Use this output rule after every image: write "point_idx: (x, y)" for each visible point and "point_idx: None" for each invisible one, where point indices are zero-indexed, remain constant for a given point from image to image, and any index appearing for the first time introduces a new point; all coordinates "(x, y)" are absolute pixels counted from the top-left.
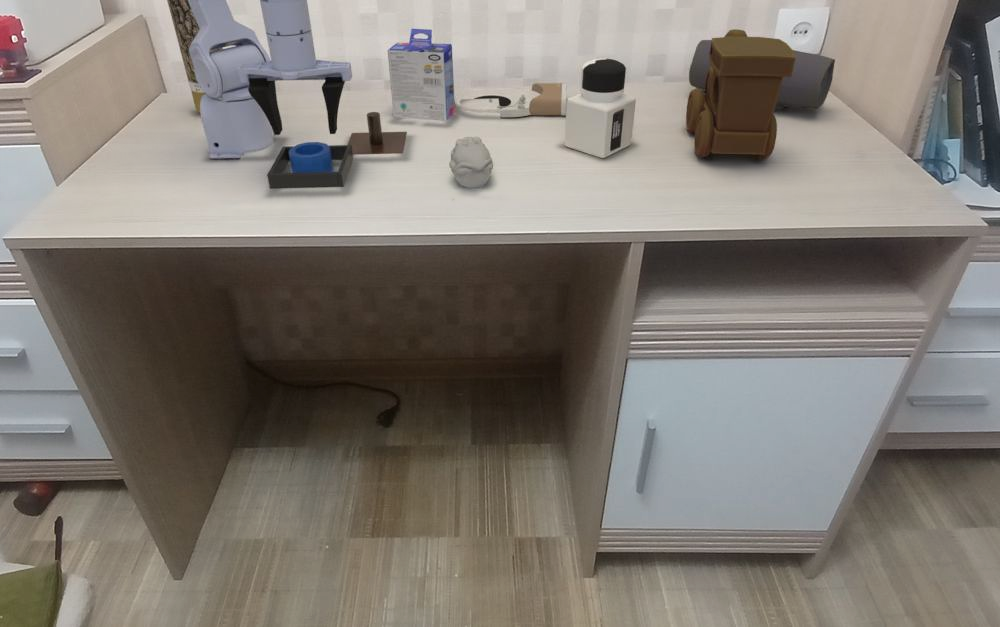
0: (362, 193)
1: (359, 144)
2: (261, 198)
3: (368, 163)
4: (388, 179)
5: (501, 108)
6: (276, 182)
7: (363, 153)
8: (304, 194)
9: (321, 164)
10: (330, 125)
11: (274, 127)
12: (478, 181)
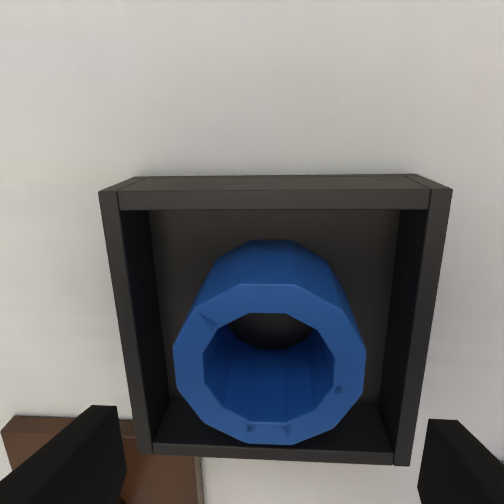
0: (68, 172)
1: (159, 501)
2: (454, 145)
3: (115, 398)
4: (13, 280)
5: None
6: (401, 182)
7: (127, 440)
8: (285, 174)
9: (209, 284)
10: (69, 439)
11: (476, 453)
12: None
